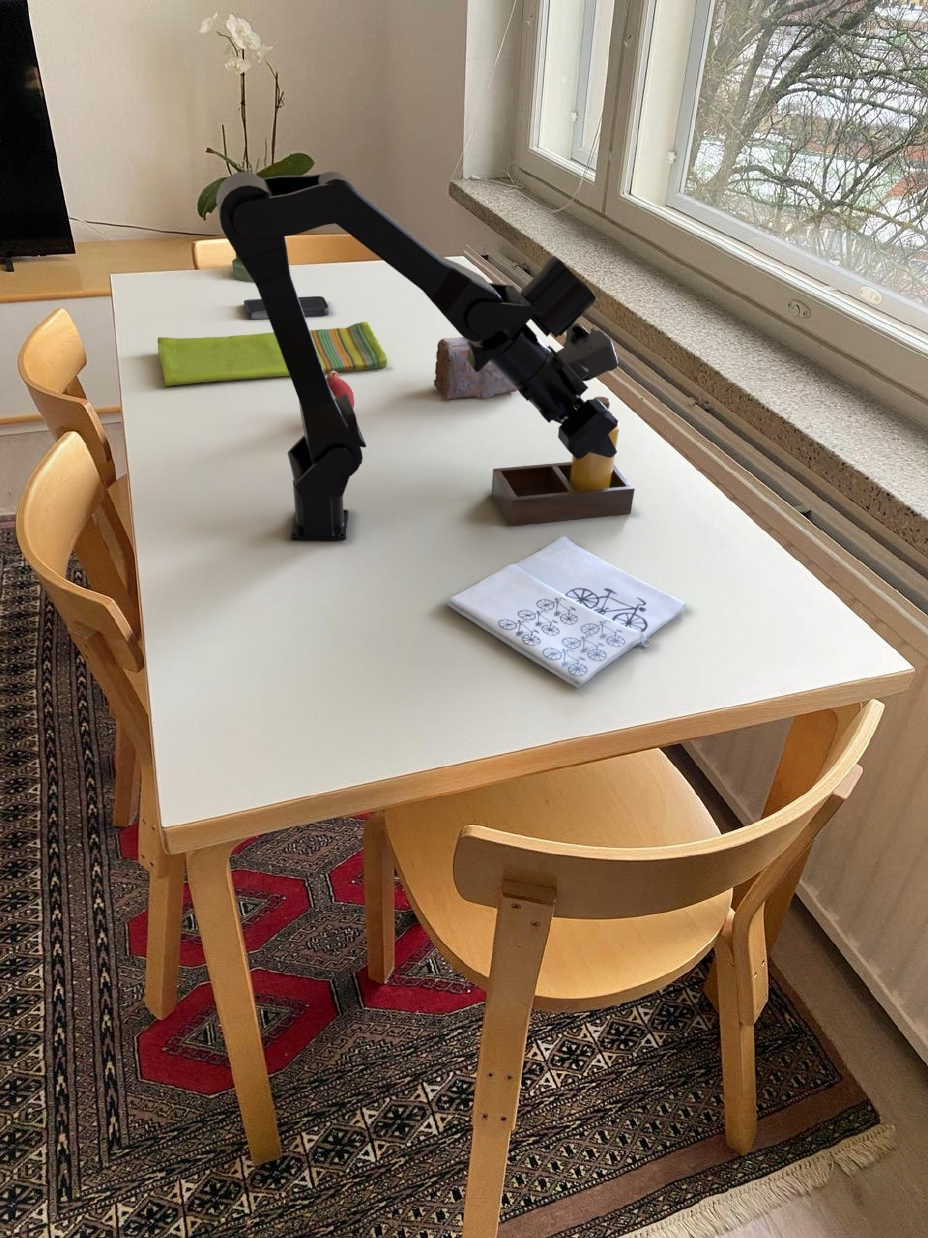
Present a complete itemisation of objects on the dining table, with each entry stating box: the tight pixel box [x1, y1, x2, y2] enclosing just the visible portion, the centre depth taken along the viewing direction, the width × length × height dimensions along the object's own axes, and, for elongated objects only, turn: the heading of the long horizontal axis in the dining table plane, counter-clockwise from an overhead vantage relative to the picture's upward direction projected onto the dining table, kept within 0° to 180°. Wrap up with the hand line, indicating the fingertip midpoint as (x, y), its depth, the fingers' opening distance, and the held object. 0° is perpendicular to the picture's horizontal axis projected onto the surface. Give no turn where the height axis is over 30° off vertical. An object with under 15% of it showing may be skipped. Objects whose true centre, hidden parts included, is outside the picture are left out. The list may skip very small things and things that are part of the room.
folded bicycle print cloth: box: [444, 535, 687, 689], centre depth 99 cm, size 19×20×2 cm
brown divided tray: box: [490, 461, 636, 527], centre depth 118 cm, size 8×16×4 cm, turn 105°
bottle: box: [569, 396, 620, 491], centre depth 115 cm, size 5×5×13 cm
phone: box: [243, 295, 330, 320], centre depth 173 cm, size 8×1×15 cm
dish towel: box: [157, 321, 388, 387], centre depth 152 cm, size 15×36×3 cm, turn 109°
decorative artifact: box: [231, 253, 254, 283], centre depth 189 cm, size 10×7×10 cm
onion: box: [326, 371, 355, 409], centre depth 132 cm, size 6×6×8 cm
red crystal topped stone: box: [433, 336, 518, 401], centre depth 144 cm, size 14×8×10 cm, turn 111°
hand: (605, 444), depth 115 cm, fingers closed on bottle, 5 cm apart
